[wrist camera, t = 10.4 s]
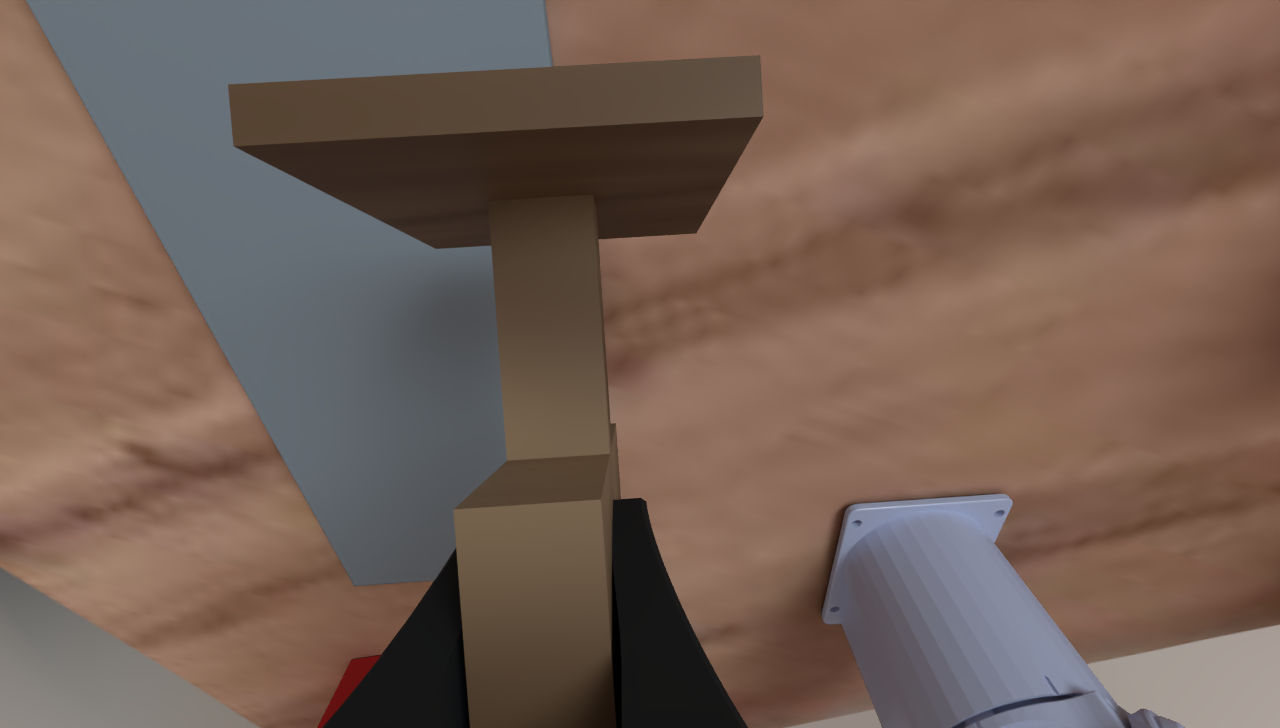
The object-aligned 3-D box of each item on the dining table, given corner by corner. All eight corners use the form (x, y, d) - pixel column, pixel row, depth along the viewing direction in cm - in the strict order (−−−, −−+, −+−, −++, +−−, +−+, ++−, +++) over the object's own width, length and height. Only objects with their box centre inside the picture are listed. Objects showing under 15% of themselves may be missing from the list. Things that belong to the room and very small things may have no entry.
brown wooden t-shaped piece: (720, 632, 14) (806, 909, 7) (466, 651, 14) (304, 950, 7) (694, 203, 14) (759, 56, 7) (433, 219, 14) (228, 84, 7)
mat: (613, 557, 26) (613, 567, 26) (359, 575, 26) (354, 586, 26) (529, -128, 13) (525, -136, 12) (-6, -97, 12) (-32, -103, 12)
